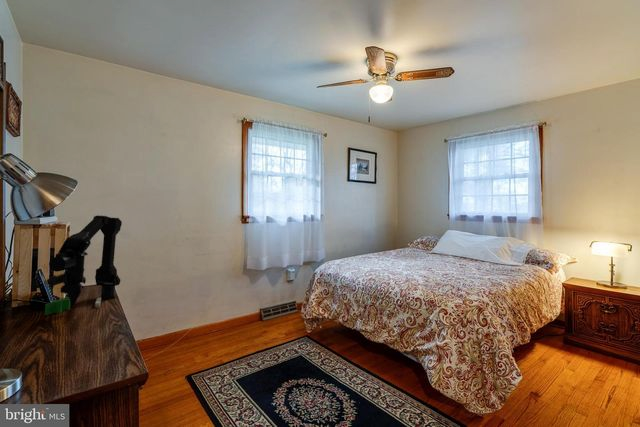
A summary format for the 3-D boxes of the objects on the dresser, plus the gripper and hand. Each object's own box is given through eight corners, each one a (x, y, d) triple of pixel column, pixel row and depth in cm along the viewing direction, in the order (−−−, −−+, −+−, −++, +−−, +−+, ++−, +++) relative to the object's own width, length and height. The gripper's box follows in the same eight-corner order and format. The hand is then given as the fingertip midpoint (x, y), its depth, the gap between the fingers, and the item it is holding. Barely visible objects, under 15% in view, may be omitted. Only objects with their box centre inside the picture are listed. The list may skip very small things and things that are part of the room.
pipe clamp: (54, 315, 122) (55, 304, 122) (44, 315, 121) (45, 304, 121) (75, 307, 133) (75, 297, 133) (66, 307, 132) (66, 296, 133)
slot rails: (52, 305, 134) (52, 300, 134) (101, 300, 143) (101, 296, 143) (46, 312, 124) (47, 308, 124) (99, 307, 133) (99, 303, 133)
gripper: (54, 264, 129) (51, 301, 129) (44, 272, 113) (41, 313, 113) (86, 263, 135) (84, 298, 135) (81, 270, 119) (79, 310, 119)
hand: (72, 304), depth 125 cm, fingers closed
